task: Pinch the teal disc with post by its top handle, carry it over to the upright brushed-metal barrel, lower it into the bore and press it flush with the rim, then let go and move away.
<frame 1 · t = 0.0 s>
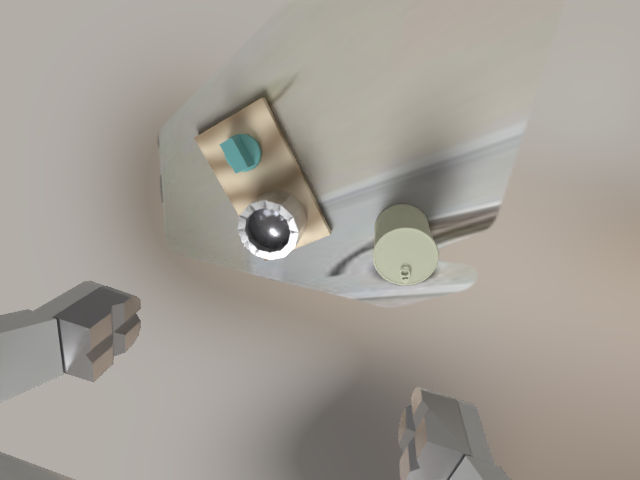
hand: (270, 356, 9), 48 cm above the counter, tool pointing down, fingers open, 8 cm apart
teal disc with post: (244, 152, 55), point 1 cm above the counter, touching base plate
base plate: (266, 185, 58), on the counter
can: (401, 229, 57), on the counter
lens barrel: (280, 217, 58), resting on base plate
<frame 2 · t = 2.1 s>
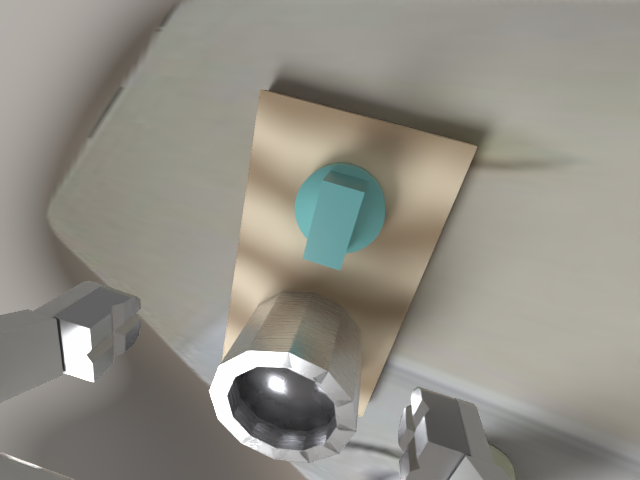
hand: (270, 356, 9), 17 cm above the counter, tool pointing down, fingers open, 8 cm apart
teal disc with post: (341, 205, 23), point 2 cm above the counter, touching base plate
base plate: (323, 274, 27), on the counter
can: (462, 467, 33), on the counter
lens barrel: (304, 341, 28), resting on base plate
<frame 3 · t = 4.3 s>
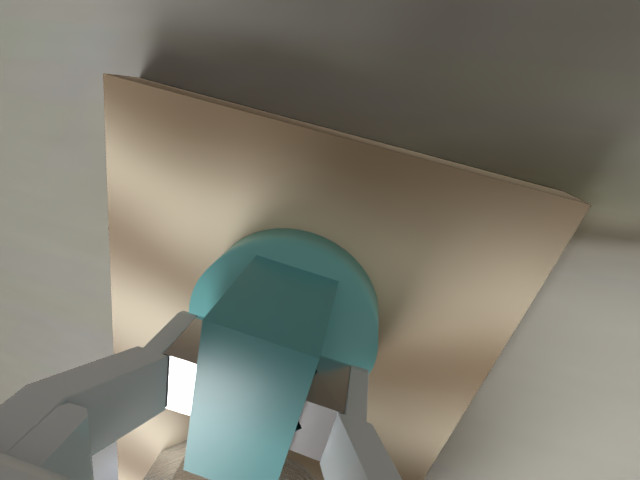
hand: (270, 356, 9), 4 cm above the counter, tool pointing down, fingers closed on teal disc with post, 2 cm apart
teal disc with post: (291, 308, 11), point 2 cm above the counter, touching base plate, gripper
base plate: (273, 400, 15), on the counter
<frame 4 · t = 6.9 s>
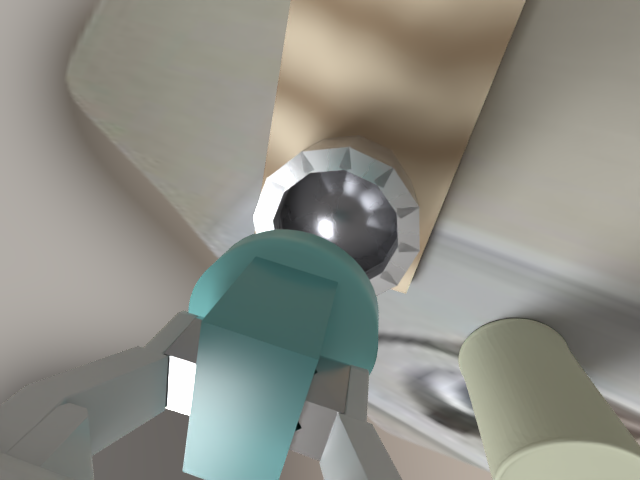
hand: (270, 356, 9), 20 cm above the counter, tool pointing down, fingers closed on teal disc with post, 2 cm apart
teal disc with post: (291, 309, 11), point 17 cm above the counter, touching gripper
base plate: (369, 121, 25), on the counter
can: (510, 357, 30), on the counter
lens barrel: (347, 201, 26), resting on base plate
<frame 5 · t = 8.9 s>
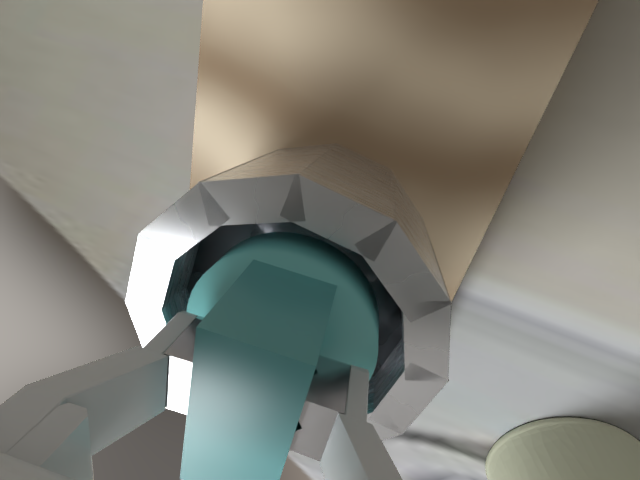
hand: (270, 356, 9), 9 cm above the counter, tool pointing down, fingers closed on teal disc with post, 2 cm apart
teal disc with post: (290, 313, 11), point 7 cm above the counter, touching gripper, lens barrel
base plate: (354, 121, 15), on the counter
can: (561, 466, 21), on the counter
lens barrel: (319, 247, 16), resting on base plate
when the fingers open (9 cm above the counter, at t = 9.8 s): teal disc with post stays where it is, resting on lens barrel.
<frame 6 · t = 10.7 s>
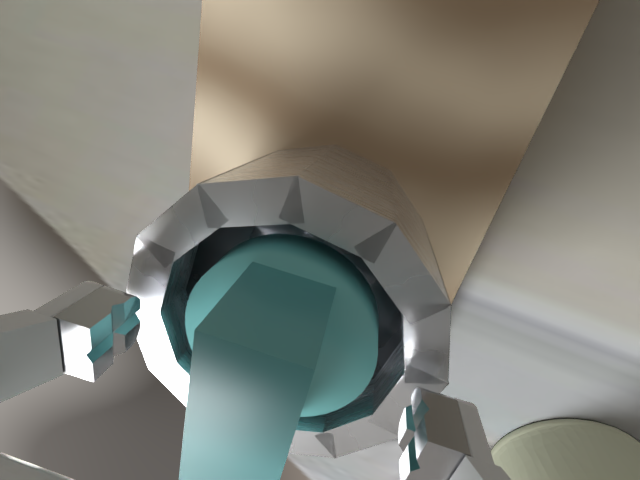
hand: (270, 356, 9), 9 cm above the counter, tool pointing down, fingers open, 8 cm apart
teal disc with post: (290, 314, 11), point 7 cm above the counter, touching lens barrel
base plate: (354, 122, 15), on the counter
can: (562, 467, 21), on the counter
lens barrel: (319, 248, 16), resting on base plate
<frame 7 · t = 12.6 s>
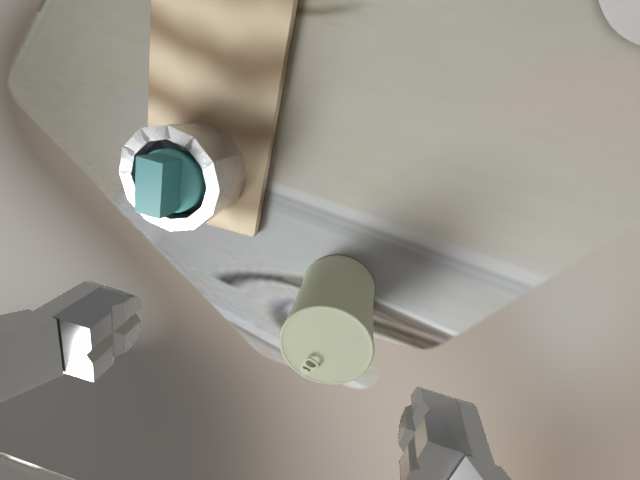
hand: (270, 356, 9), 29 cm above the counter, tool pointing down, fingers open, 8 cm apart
teal disc with post: (177, 179, 32), point 7 cm above the counter, touching lens barrel
base plate: (215, 114, 36), on the counter
can: (338, 287, 42), on the counter
lens barrel: (204, 169, 37), resting on base plate
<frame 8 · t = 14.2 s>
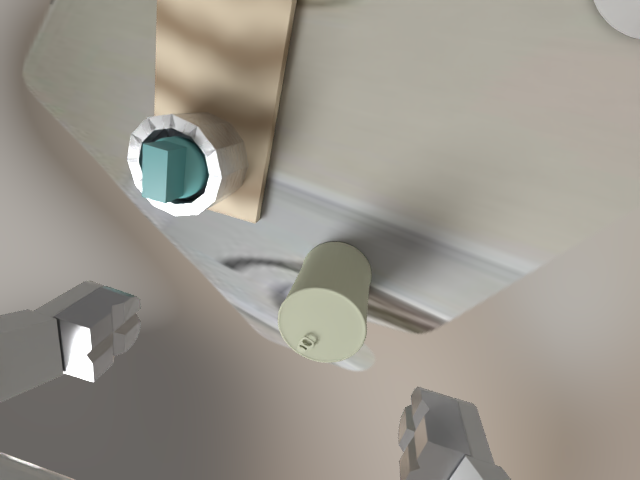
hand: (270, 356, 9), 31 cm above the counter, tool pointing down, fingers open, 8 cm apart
teal disc with post: (182, 166, 34), point 7 cm above the counter, touching lens barrel
base plate: (219, 104, 38), on the counter
can: (336, 272, 43), on the counter
lens barrel: (208, 157, 39), resting on base plate
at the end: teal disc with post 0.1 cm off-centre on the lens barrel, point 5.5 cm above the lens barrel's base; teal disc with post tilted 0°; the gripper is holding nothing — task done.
